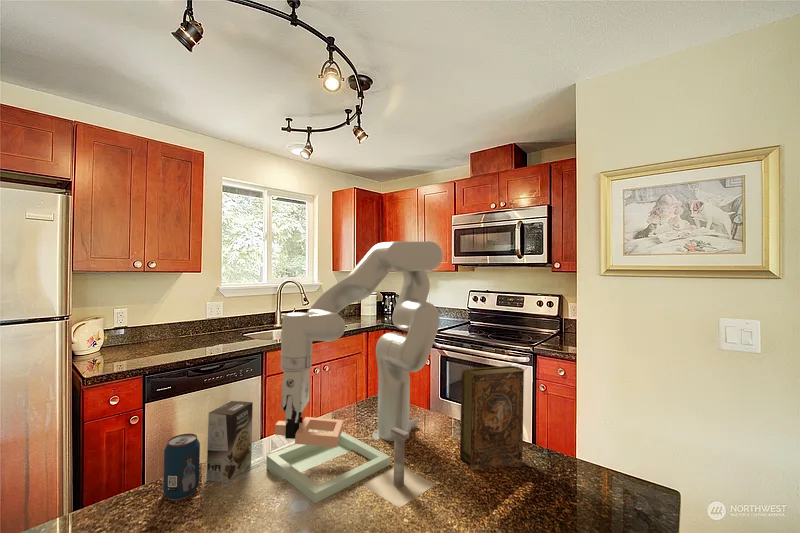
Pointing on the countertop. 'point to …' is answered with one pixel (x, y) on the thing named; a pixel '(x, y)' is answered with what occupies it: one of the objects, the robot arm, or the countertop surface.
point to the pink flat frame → (315, 437)
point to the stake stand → (398, 477)
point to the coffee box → (229, 441)
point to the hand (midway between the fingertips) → (293, 434)
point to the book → (492, 416)
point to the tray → (308, 456)
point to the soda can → (181, 466)
